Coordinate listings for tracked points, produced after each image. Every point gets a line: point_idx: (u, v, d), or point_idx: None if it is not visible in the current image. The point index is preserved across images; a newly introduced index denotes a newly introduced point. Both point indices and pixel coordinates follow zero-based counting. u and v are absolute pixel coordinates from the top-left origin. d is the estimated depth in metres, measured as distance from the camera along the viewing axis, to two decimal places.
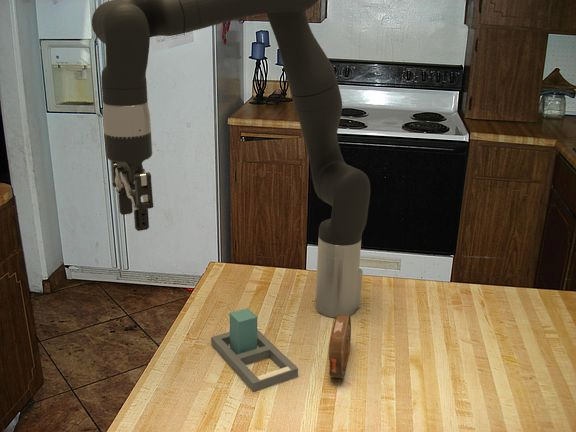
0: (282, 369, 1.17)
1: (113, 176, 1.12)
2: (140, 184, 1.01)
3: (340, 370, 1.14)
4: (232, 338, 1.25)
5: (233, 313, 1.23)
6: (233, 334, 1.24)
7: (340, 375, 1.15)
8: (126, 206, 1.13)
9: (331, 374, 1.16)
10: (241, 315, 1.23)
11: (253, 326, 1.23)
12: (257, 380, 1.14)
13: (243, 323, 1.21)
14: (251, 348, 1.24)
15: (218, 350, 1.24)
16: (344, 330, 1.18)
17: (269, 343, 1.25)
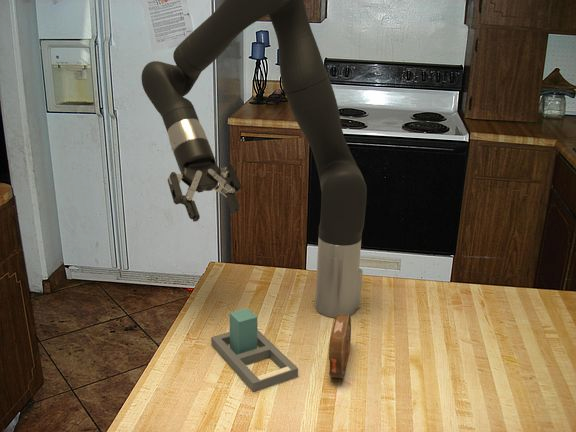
0: (282, 369, 1.17)
1: None
2: (169, 183, 1.25)
3: (340, 370, 1.14)
4: (232, 338, 1.25)
5: (233, 313, 1.23)
6: (233, 334, 1.24)
7: (340, 375, 1.15)
8: (231, 206, 1.28)
9: (331, 374, 1.16)
10: (241, 315, 1.23)
11: (253, 326, 1.23)
12: (257, 380, 1.14)
13: (243, 323, 1.21)
14: (251, 348, 1.24)
15: (218, 350, 1.24)
16: (344, 330, 1.18)
17: (269, 343, 1.25)
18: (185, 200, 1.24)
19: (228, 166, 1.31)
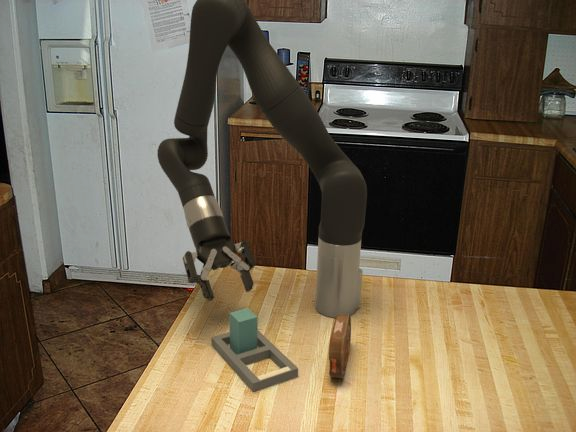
0: (282, 369, 1.17)
1: None
2: (184, 262, 1.26)
3: (340, 370, 1.14)
4: (232, 338, 1.25)
5: (233, 313, 1.23)
6: (233, 334, 1.24)
7: (340, 375, 1.15)
8: (245, 284, 1.29)
9: (331, 374, 1.16)
10: (241, 315, 1.23)
11: (253, 326, 1.23)
12: (257, 380, 1.14)
13: (243, 323, 1.21)
14: (251, 348, 1.24)
15: (218, 350, 1.24)
16: (344, 330, 1.18)
17: (269, 343, 1.25)
18: (200, 280, 1.25)
19: (243, 242, 1.31)
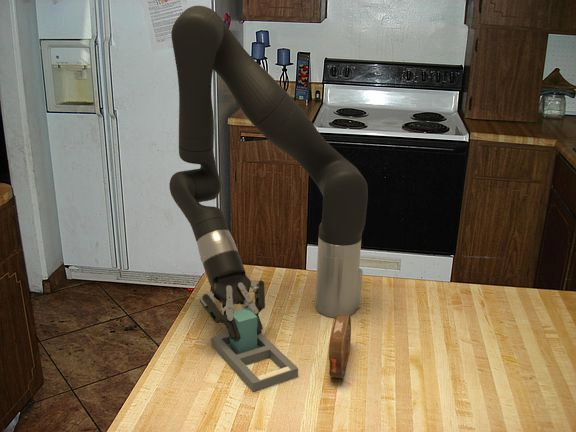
0: (282, 369, 1.17)
1: None
2: (204, 305, 1.23)
3: (340, 370, 1.14)
4: None
5: (233, 313, 1.23)
6: None
7: (340, 375, 1.15)
8: None
9: (331, 374, 1.16)
10: (241, 315, 1.23)
11: (253, 326, 1.23)
12: (257, 380, 1.14)
13: (243, 323, 1.21)
14: (251, 348, 1.24)
15: (218, 350, 1.24)
16: (344, 330, 1.18)
17: (269, 343, 1.25)
18: (226, 320, 1.22)
19: (259, 282, 1.28)
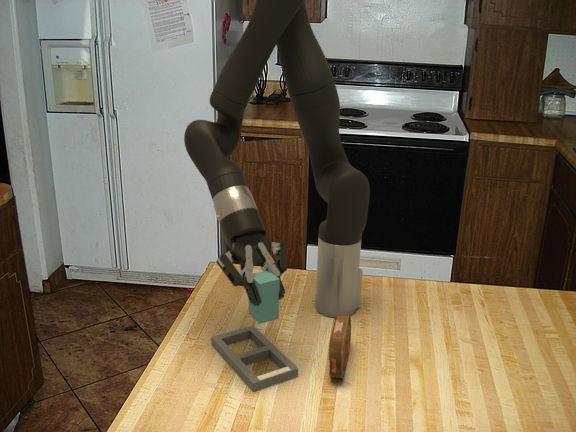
0: (282, 369, 1.17)
1: None
2: (221, 266, 1.12)
3: (340, 370, 1.14)
4: None
5: (253, 275, 1.13)
6: None
7: (340, 375, 1.15)
8: None
9: (331, 374, 1.16)
10: (262, 277, 1.12)
11: (275, 289, 1.12)
12: (257, 380, 1.14)
13: (264, 286, 1.11)
14: (272, 314, 1.14)
15: (218, 350, 1.24)
16: (344, 330, 1.18)
17: (269, 343, 1.25)
18: (245, 282, 1.11)
19: (281, 243, 1.17)
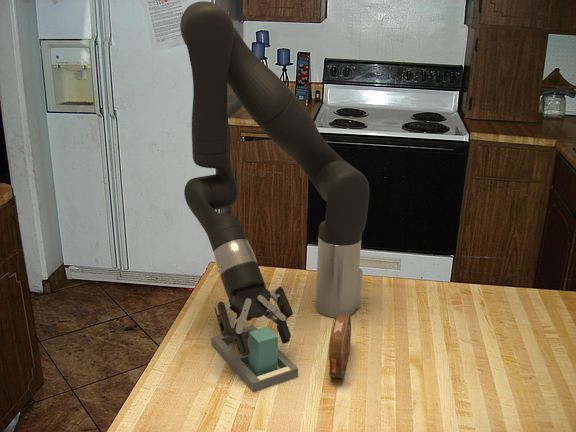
0: (282, 369, 1.17)
1: None
2: (217, 313, 1.16)
3: (340, 370, 1.14)
4: (251, 358, 1.18)
5: (252, 332, 1.17)
6: (253, 355, 1.17)
7: (340, 375, 1.15)
8: (282, 336, 1.19)
9: (331, 374, 1.16)
10: (261, 335, 1.16)
11: (274, 346, 1.16)
12: (257, 380, 1.14)
13: (263, 344, 1.15)
14: (271, 369, 1.18)
15: (218, 350, 1.24)
16: (344, 330, 1.18)
17: None
18: (234, 333, 1.14)
19: (278, 289, 1.21)
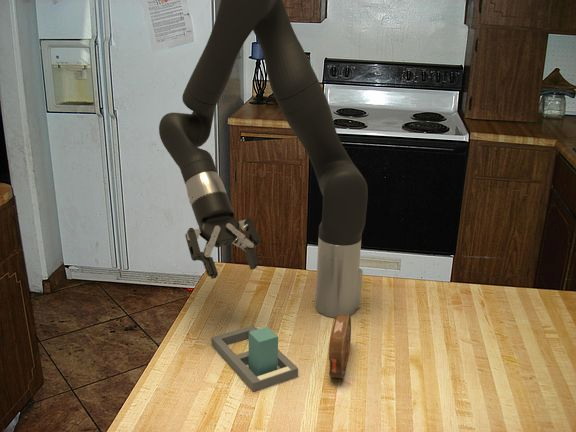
0: (282, 369, 1.17)
1: None
2: (187, 239, 1.23)
3: (340, 370, 1.14)
4: (251, 358, 1.18)
5: (252, 332, 1.17)
6: (253, 355, 1.17)
7: (340, 375, 1.15)
8: (250, 262, 1.25)
9: (331, 374, 1.16)
10: (261, 335, 1.16)
11: (274, 346, 1.16)
12: (257, 380, 1.14)
13: (263, 343, 1.15)
14: (271, 369, 1.18)
15: (218, 350, 1.24)
16: (344, 330, 1.18)
17: None
18: (203, 257, 1.21)
19: (247, 219, 1.28)
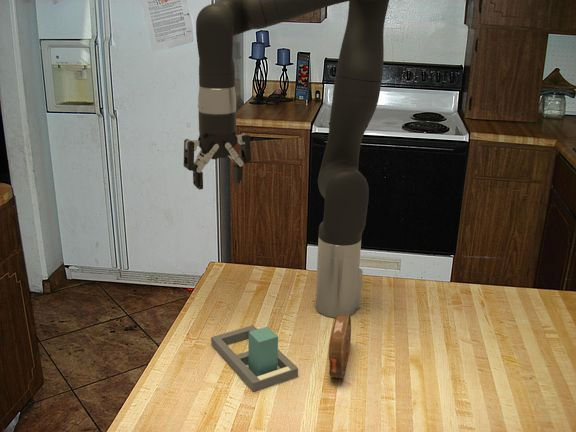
0: (282, 369, 1.17)
1: None
2: (185, 147, 1.27)
3: (340, 370, 1.14)
4: (251, 358, 1.18)
5: (252, 332, 1.17)
6: (253, 355, 1.17)
7: (340, 375, 1.15)
8: (234, 176, 1.34)
9: (331, 374, 1.16)
10: (261, 335, 1.16)
11: (274, 346, 1.16)
12: (257, 380, 1.14)
13: (263, 344, 1.15)
14: (271, 369, 1.18)
15: (218, 350, 1.24)
16: (344, 330, 1.18)
17: None
18: (194, 170, 1.28)
19: (246, 138, 1.31)
